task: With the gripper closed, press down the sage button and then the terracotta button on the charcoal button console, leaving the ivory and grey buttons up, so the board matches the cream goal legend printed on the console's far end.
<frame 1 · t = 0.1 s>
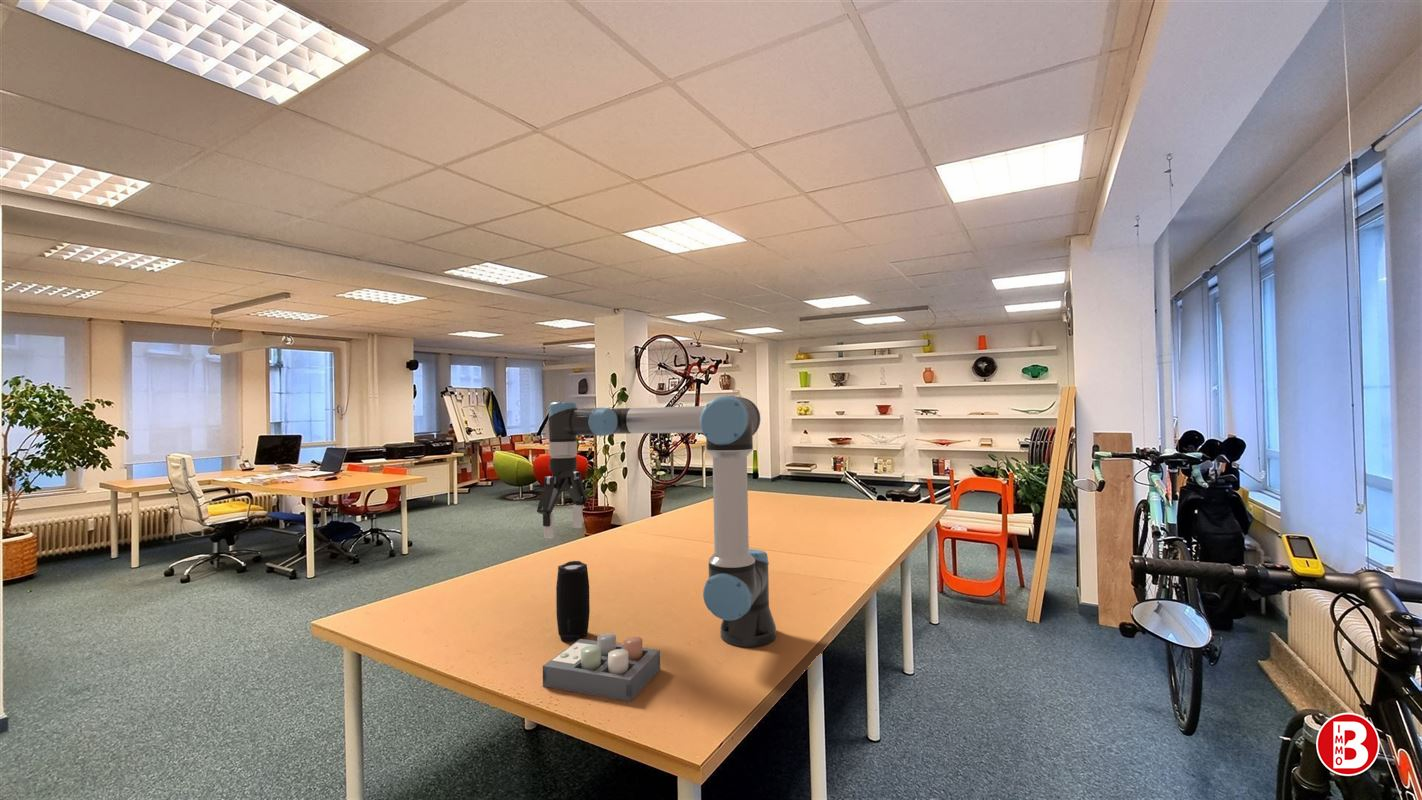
hand: (563, 532, 149), 28 cm above the table, fingers open, 13 cm apart
button terracotta: (633, 650, 124), point 5 cm above the table, slide at 0.0 cm
portable speaker: (573, 636, 146), on the table
button ivory: (618, 663, 117), point 5 cm above the table, slide at 0.0 cm
button grey: (606, 646, 126), point 5 cm above the table, slide at 0.0 cm
console: (603, 677, 123), on the table
button sage: (590, 659, 120), point 5 cm above the table, slide at 0.0 cm
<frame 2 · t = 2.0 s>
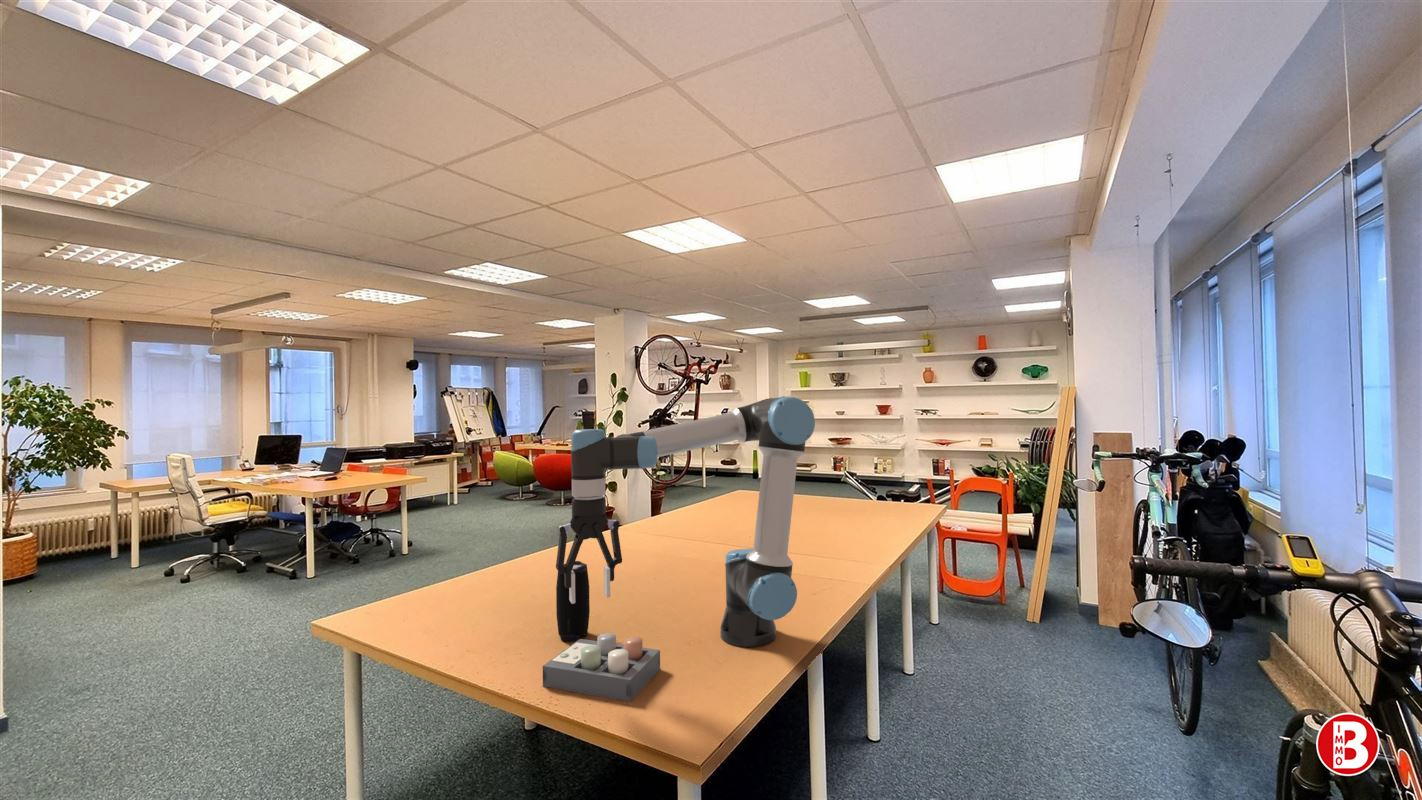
hand: (590, 598, 120), 19 cm above the table, fingers open, 7 cm apart
nothing on the table moved.
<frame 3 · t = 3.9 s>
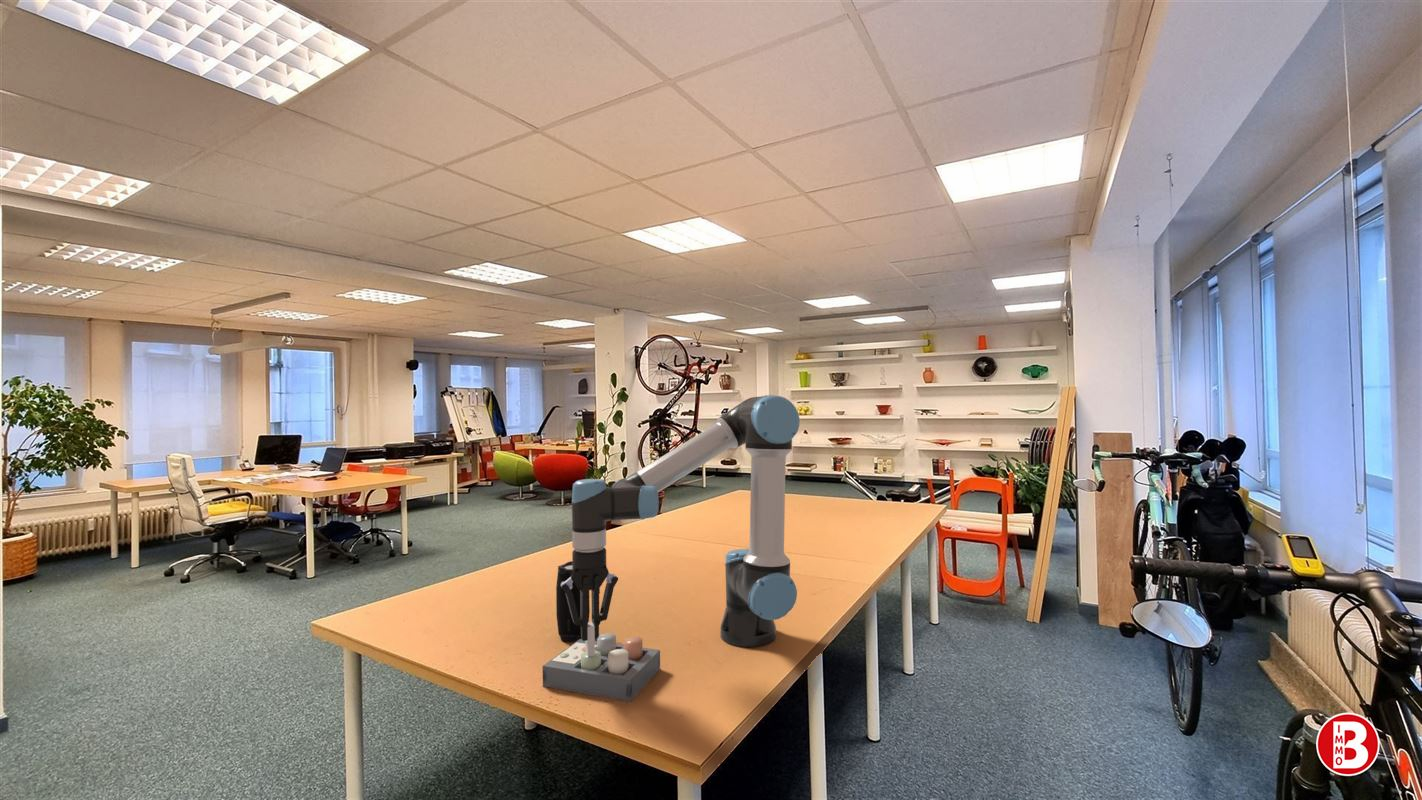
hand: (590, 653, 120), 7 cm above the table, fingers closed
button sage: (590, 664, 120), point 4 cm above the table, slide at 1.1 cm, touching gripper
everything else where it was.
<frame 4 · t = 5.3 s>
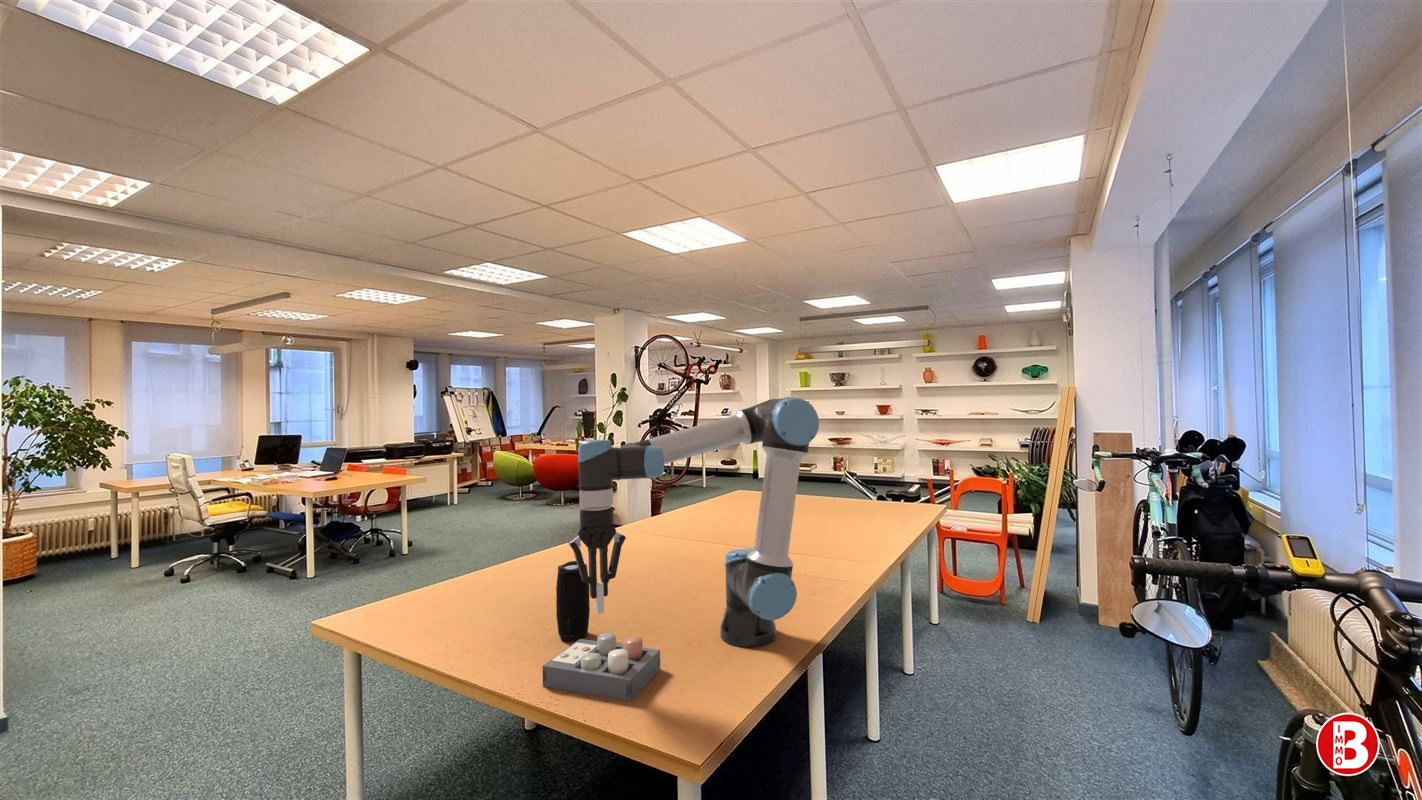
hand: (599, 611, 121), 16 cm above the table, fingers closed
button sage: (590, 667, 120), point 4 cm above the table, slide at 1.7 cm
everything else where it was.
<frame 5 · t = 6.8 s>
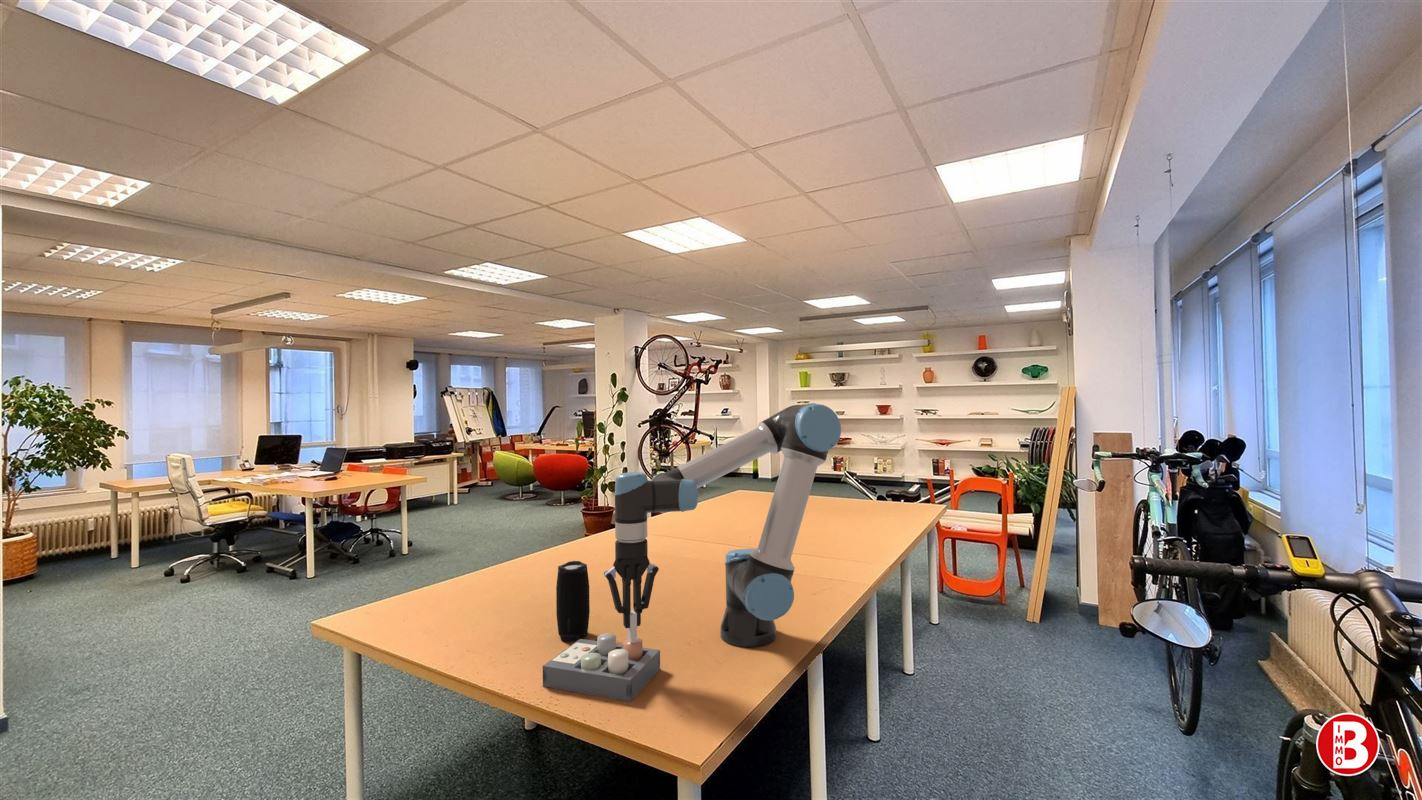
hand: (632, 640, 124), 8 cm above the table, fingers closed
button terracotta: (633, 651, 124), point 5 cm above the table, slide at 0.2 cm, touching gripper
everything else where it was.
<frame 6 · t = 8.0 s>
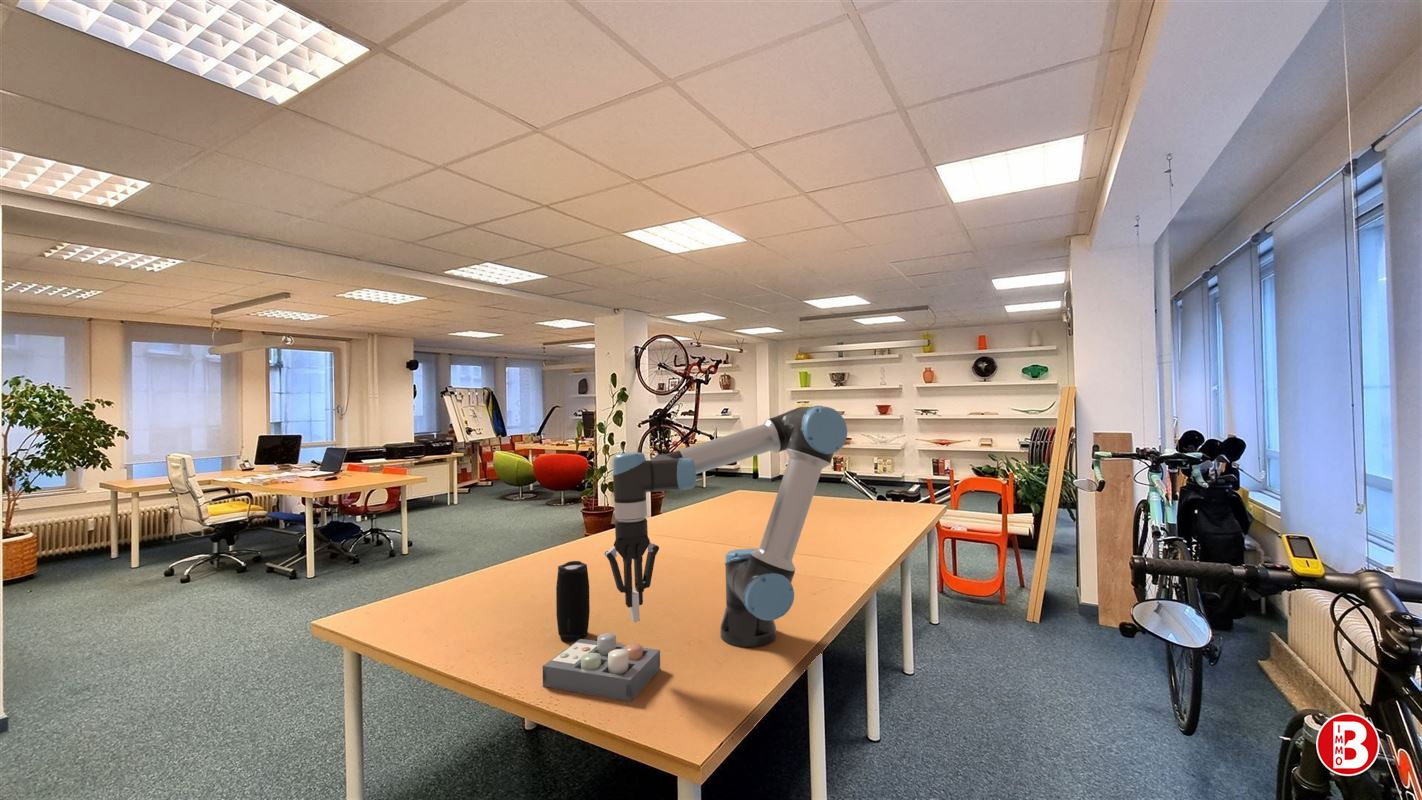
hand: (634, 619, 124), 12 cm above the table, fingers closed
button terracotta: (633, 657, 124), point 4 cm above the table, slide at 1.7 cm
everything else where it was.
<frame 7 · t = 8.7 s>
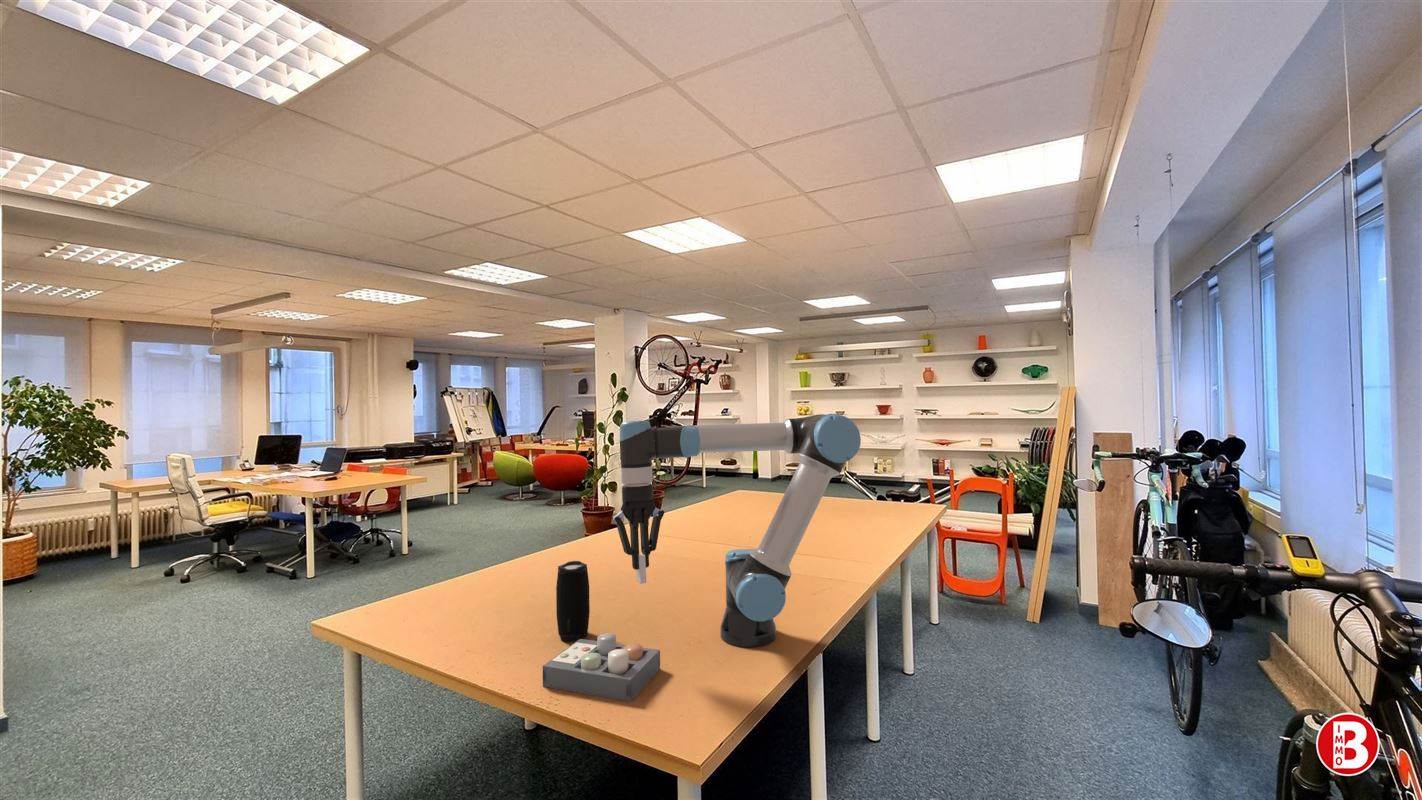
hand: (641, 581, 128), 20 cm above the table, fingers closed
nothing on the table moved.
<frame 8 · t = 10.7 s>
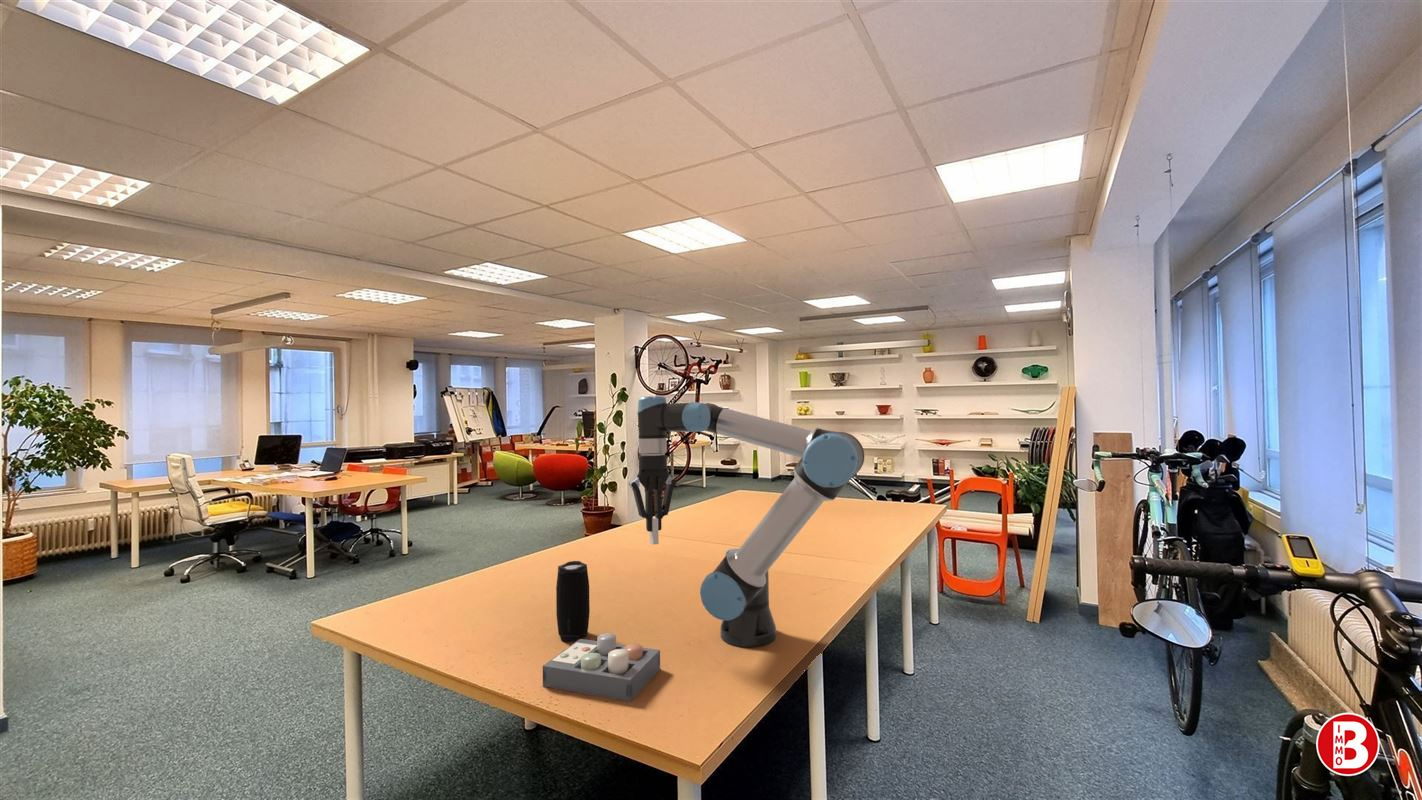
hand: (654, 543, 141), 26 cm above the table, fingers closed
nothing on the table moved.
at the end: button sage slide at 1.7 cm; button terracotta slide at 1.7 cm; button ivory slide at 0.0 cm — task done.
